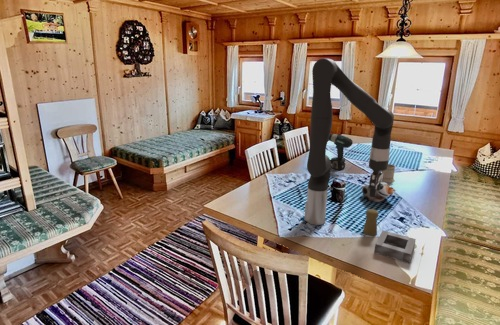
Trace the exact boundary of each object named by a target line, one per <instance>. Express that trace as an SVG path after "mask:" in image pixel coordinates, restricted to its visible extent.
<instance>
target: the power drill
mask: <svg viewBox="0 0 500 325" xmlns="http://www.w3.org/2000/svg"><path fill="white" fill-rule="evenodd" d="M328 141H329V142H332V143H333V144H334V145H335V148H336V152H337V156H334V157H331V158H330V161H331V169H334V170H338V171H339V170H344V169H345V168H346V159H345V158H343V157H344V152H345V151H344V148H345V149H348V148H349V149H350V147H351V146H353V139H351V138H350V137H348V136H344V135H342V134H336V133H330V136H329V139H328Z"/></svg>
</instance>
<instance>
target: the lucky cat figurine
mask: <svg viewBox="0 0 500 325" xmlns="http://www.w3.org/2000/svg"><path fill="white" fill-rule="evenodd" d="M380 183H381V185H380V190H379V191H377V190H376V195H375V197H370V188H369V184H366V185H364V186H363V187H362V189H361V191H362V195H363V197H364V198H365V199H367V201H369V202H374V203H380V202H382V201H384V200H385V199H387V198H389V197H390V196H391V195H393V194H395V193H396V189H394V187H392V186H390V185H389V183H388V182H383V181H382V182H380ZM372 186H374V184H372Z"/></svg>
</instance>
